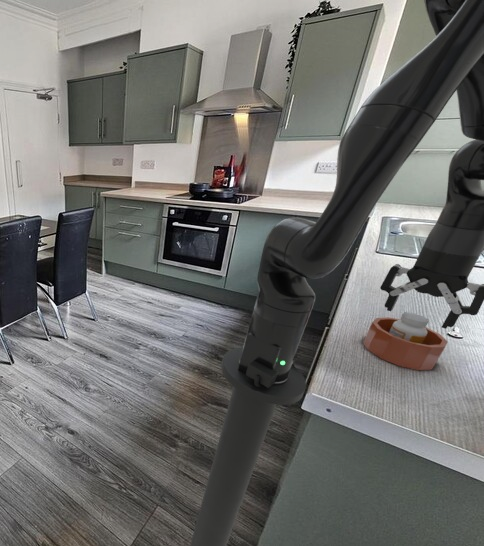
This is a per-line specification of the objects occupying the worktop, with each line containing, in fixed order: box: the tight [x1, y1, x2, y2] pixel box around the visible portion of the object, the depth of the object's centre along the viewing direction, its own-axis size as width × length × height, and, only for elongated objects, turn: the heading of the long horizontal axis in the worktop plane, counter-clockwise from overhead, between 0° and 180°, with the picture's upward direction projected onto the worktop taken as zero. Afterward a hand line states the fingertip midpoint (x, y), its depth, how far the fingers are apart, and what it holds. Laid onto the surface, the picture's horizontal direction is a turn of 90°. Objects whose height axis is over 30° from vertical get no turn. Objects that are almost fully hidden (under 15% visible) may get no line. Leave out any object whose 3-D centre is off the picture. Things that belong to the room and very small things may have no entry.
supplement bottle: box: [389, 312, 429, 344], centre depth 70 cm, size 5×5×10 cm
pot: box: [362, 317, 449, 371], centre depth 70 cm, size 12×12×6 cm
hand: (415, 318), depth 68 cm, fingers open, 8 cm apart
